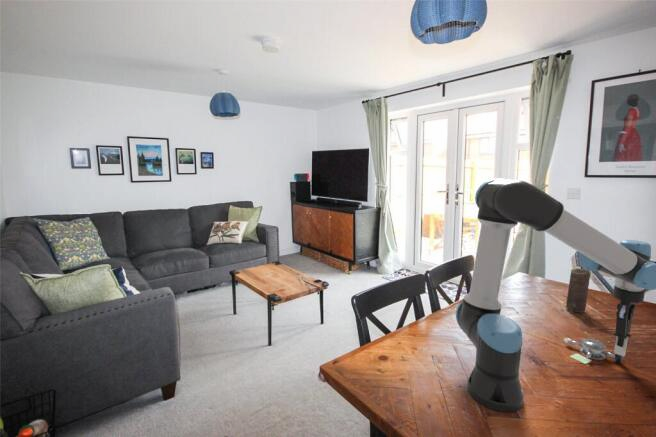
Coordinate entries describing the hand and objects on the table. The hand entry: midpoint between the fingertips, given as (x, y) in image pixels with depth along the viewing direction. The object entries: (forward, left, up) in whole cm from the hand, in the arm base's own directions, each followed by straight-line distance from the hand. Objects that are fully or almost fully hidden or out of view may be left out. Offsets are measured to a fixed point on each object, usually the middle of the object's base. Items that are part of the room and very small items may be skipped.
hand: (619, 354), depth 112 cm
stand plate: (0, +6, -5) cm, 8 cm away
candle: (+33, +32, -5) cm, 47 cm away
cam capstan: (-1, +7, -4) cm, 8 cm away
